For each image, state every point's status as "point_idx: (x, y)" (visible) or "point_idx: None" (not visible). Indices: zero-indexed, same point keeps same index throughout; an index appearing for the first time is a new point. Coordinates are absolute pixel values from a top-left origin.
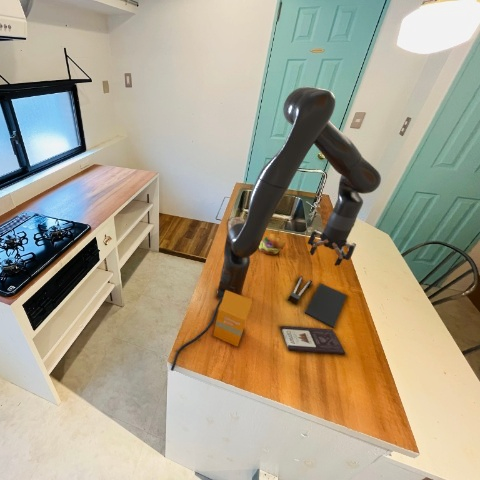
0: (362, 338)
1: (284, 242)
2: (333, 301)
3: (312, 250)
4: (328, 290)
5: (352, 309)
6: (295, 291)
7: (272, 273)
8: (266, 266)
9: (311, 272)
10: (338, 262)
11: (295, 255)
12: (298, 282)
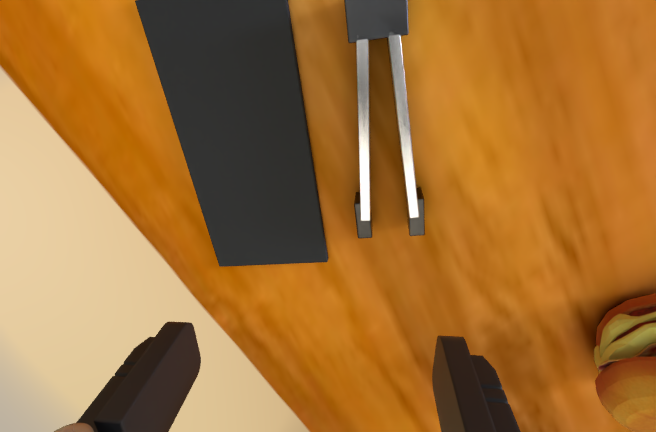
0: (45, 58)
1: (619, 412)
2: (231, 186)
3: (482, 399)
4: (281, 241)
5: (166, 204)
6: (393, 58)
7: (571, 157)
8: (626, 190)
9: (391, 306)
10: (139, 368)
11: (498, 367)
12: (411, 160)
